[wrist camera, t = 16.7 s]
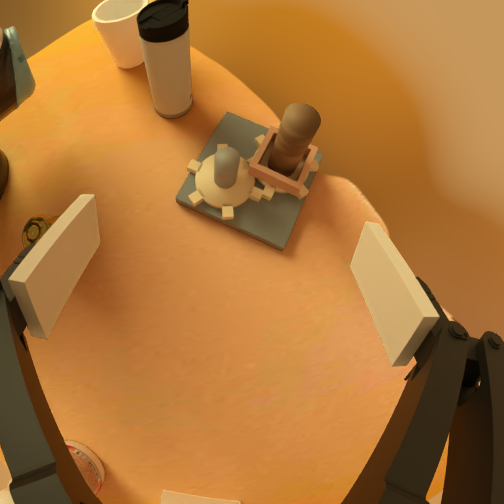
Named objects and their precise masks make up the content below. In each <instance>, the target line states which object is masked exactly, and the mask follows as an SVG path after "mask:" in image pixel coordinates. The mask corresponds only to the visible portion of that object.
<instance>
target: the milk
mask: <svg viewBox="0 0 504 504" xmlns="http://www.w3.org/2000/svg"><path fill="white" fill-rule="evenodd" d="M160 504H241V501H236V500H226V499H218V498H210V497H203V496H197V495H191V494H185V493H180V492H175V491H170V490H165V489H163V492H162V497H161V502H160Z"/></svg>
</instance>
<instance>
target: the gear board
mask: <svg viewBox="0 0 504 504" xmlns="http://www.w3.org/2000/svg"><path fill="white" fill-rule="evenodd" d="M278 130H279V129H277V128H275V127H273V126H271V127H270V129H268V128H265V127H263V126H261V125H258V124H256V123H254V122H251V121H249V120H247V119H244V118H242V117H239V116H237V115H234V114H232V113H229V112H227V113H226V114H225V116H224V117H223V119H222V120H221V122H220V124H219V125H218V127H217V128H216V130H215V132H214V133H213V135H212V136H211V138H210V140H209V141H208V143H207V145H206V146H205V148H204V149H203V151H202V153H201V154H200V156H199V158H198V160H197V161H196V160H193V159H192V160H191V161H190V163H189V165H188V166H187V170H188V171H189V172H190V173H189V175H188V177H187V178H186V180H185V182H184V184H183V185H182V187H181V189H180V191H179V193H178V194H177V196H176V202H178V203H180V204H182V205H184V206H186V207H188V208H191V209H193V210H195V211H197V212H199V213H202V214H204V215H206V216H208V217H210V218H212V219H215V220H217V221H219V222H221V223H223V224H225V225H228V226H230V227H232V228H234V229H236V230H238V231H241V232H243V233H245V234H247V235H249V236H251V237H254V238H256V239H258V240H260V241H262V242H264V243H266V244H268V245H271V246H273V247H275V248H277V249H279V250H281V251H282V250H283V249H284V247H285V245H286V243H287V240H288V238H289V236H290V233H291V231H292V228H293V226H294V224H295V221H296V219H297V217H298V214H299V212H300V209H301V207H302V205H303V202H304V200H305V197H306V195H307V194H308V193H309V191H308V190H309V188H310V185H311V183H312V181H313V178H314V176H315V173H316V171H317V170H318V169H319V163H320V161H321V159H322V156H323V155H322V154H321V153H319V152H317V149H318V148H317V147H315V146H313V145H311V144H309V146H308V148H307V150H306V151H305V153H304V155H303V157H302V159H301V161H300V162H299V164H298V166H297V168H296V170H295V171H294V173H293V174H292V175H291V176H289V177H286V176H284V175H281V174H279V173H277V172H275V171H273V170H271V169H269V168H268V159H269V156H270V153H271V150H272V147H273V144H274V142H275V139H276V136H277V133H278Z"/></svg>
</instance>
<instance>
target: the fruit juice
mask: <svg viewBox="0 0 504 504" xmlns="http://www.w3.org/2000/svg"><path fill="white" fill-rule="evenodd" d="M65 443H66V445H67V448H68V449H69V451H70V453H71V455H72V457H73V459H74V461H75V463H76V465H77V467H78V468H79V470H80V472H81V474H82V476H83V477H84V479H85V481H86V483H87V484H88V486H89V487H90V489H91V490H92V492H93V493H94V494H95V495H97V493H98V492H99V490H100V488H101V487H102V485H103V483H104V479H105V472H104V468H103V465H102V463H101V461H100V460H99V458H98V457H97V456H96V455H95V453H94V452H93V451H91V450H90V449H89V448H88V447H86V446H84V445H83V444H81V443H78V442H75V441H69V440H66V441H65ZM11 482H12V479H11V480H10V481H9V483H8V485H7V488H6V489H2V490H0V504H14V502H13V499H12V497H11V494H10V491H9V484H10V483H11Z"/></svg>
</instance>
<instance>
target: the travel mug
mask: <svg viewBox="0 0 504 504" xmlns="http://www.w3.org/2000/svg"><path fill="white" fill-rule="evenodd" d="M187 4H188V0H156V1H154V2H152V3H150V4H148V5H146V6H145V7H144V8H143V9H142V10H141V11H140V12H139V13H138V15H137V19H136V20H137V25H138V31H139V38H140V43H141V48H142V53H143V58H144V62H145V67H146V72H147V76H148V81H149V85H150V90H151V94H152V98H153V103H154V107H155V110H156V112H157V113H158V114H159V115H160V116H162V117H165V118H177V117H180V116H182V115H184V114H185V113H187V112H188V111H189V110H190V108H191V106H192V103H193V101H192V84H191V64H190V40H189V23H188V5H187Z"/></svg>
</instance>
